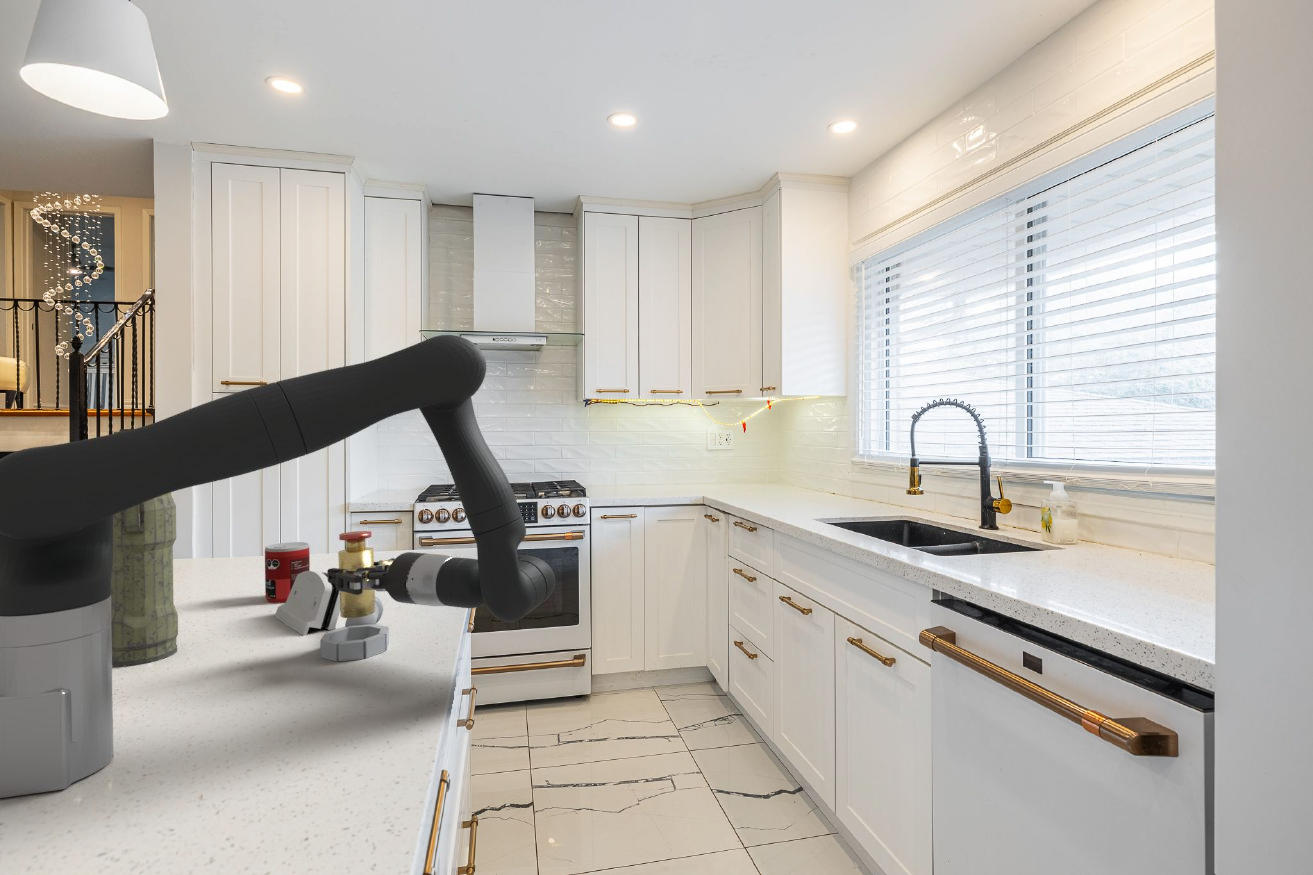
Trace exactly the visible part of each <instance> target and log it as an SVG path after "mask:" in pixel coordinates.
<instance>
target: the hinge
mask: <svg viewBox="0 0 1313 875" xmlns="http://www.w3.org/2000/svg"><path fill="white" fill-rule="evenodd" d="M336 586H337V584H334V583H329V582H328V578H327V572H323V571H322V572H321V571H318V570H310V571H305V572H302V573H300V574H298V576H297V577H296V580H295V582H294V585H293V587H292V589H291V592H290V594H289V596H288V599H287V601H286V603H282V604H281V605H278V607H277V609H276V611H275V614H274V618H276V619H278V620H279V621H281V622H282V623H284V624H285V625H286V626H288V627H289V628H291V629H293V630H294V631H296V632H297V633H299V634H300V635H301V636H303V637H304V636H307V635H308V632H309V630H310V628H314V629H320V630H321V629H322V628H324V629H327V630H328V631H332V630H335V629H336V628H337V627H336V626H337V623H338V620H339V615H340V591H339V590H337V589H336Z"/></svg>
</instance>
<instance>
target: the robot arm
mask: <svg viewBox="0 0 1313 875" xmlns="http://www.w3.org/2000/svg"><path fill="white" fill-rule="evenodd" d="M486 372H487V361H486V358H485V355H484V353H483V352H482V350H481V349H480V348H479V346H478V345H477V344H475V343H474V342H473V341H471V340H469V339H468V338H465V337H462V336H459V335H453V334H441V335H436V336H433V337H430V338H428V339H425V340H422V341H421V342H418V343H416V344H415V343H414V344H412V345H411V346H408V347H405V348H403V349H400V350H397V351H395V352H392V353H389V354H386V355H384V356H381V357H379V358H378V357H377V358H375V359H372V360H369V361H365V362H361V363H355V364H351V365H346V366H342V367H335V368H331V369H326V370H321V371H317V372H312V373H308V374H303V375H299V376H296V377H290V378H285V379H283V380H278V381H276V382H275V381H274V382H270V383H267V384H263V385H259V386H256V387H251V388H248V389H243V390H241V391H238V392H235V393H232V394H229V395H226V396H223V397H220V398H217V399H214V400H211V401H208V402H204V403H202V404H200V405H197V406H194V407H191V408H189V409H186V410H184V411H181V412H179V413H177V414H173V415H172V416H168V417H166V418H164V419H161V420H158V421H156V422H154V423H153V422H152V423H150V424H147V425H143V426H141V427H137V428H132V429H133V430H128V431H124V432H120V433H115V434H113V433H111V434H106V435H102V436H97V437H92V438H88V439H82V440H77V441H69V442H65V443H59V444H54V445H43V446H35V447H28V448H24V449H21V450H18V451H15V452H11V453H9V454H8V455H6V456H5V455H4V456H3V457H2V458H0V799H3V798H9V797H11V798H12V797H17V796H25V795H32V794H38V793H45V792H52V791H53V792H54V791H60V790H65V789H67V788H68V787H69V786H70V785H72V784H73V783H75V782H77V781H79V780H81V779H83V778H86V777H89V776H91V775H92V774H94V773H96V772H98V771H99V770H101V769H103V768H104V767H105V766H107V765H108V764H109V763H110V762H111V761H112V759H113V758H114V717H113V716H114V715H113V713H114V712H113V711H114V710H113V703H114V702H113V666H112V632H111V623H112V620H111V576H112V567H113V515H114V514H117V513H119V512H121V511H124V510H126V509H128V508H131V507H133V506H136V505H138V504H141V503H143V502H146V501H148V500H151V499H153V498H156V497H159V496H162V495H164V494H167V493H170V492H171V493H173V492H177V491H180V490H183V489H187V488H191V487H196V486H200V485H204V484H209V483H214V482H218V481H223V480H226V479H230V478H234V477H238V476H242V475H246V474H250V473H252V472H256V471H260V470H263V469H267V468H270V467H273V466H277V465H280V464H282V463H283V464H284V463H285V462H289V461H292V460H295V459H298V458H301V457H304V456H307V455H309V454H312V453H315V452H317V451H320V450H322V449H326V448H327V447H330V446H332V445H334V444H336V443H339V442H341V441H343V440H346V439H347V438H349V437H351V436H353V435H355V434H356V435H357V433H360V432H362V431H363V430H365V429H367V428H369V427H371V426H373V425H374V424H377V423H379V422H382V421H384V420H385V419H388V418H390V417H393V416H396V415H399V414H402V413H403V414H404V413H407V412H409V411H413V410H418V409H419V411H420V413H421V414H422V416H423V418H424V420H425V421H426V423H427V425H428V427H429V428H430V430H431V433H432V435H433V436H434V439H435V441H436V442H437V445H438V446H439V449H440V451H441V454H442V455H443V458H444V460H445V462H446V465H447V467H448V470H449V472H450V475H451V478H452V480H453V483H454V486H455V487H456V490H457V493H458V496H459V499H460V502H461V505H462V507H463V511H464V513H465V516H466V518H467V522H468V524H469V527H470V530H471V534H472V535H473V536H472V537H473V538H474V541H475V543H476V551H477V552H476V553H477V557H476V558H471V557H469V558H468V557H467V558H466V557H458V556H456V557H455V556H452V555H451V556H450V555H446V554H439V553H438V554H437V553H427V552H423V553H422V552H412V551H411V552H410V551H407V552H402V553H401V554H399V555H398V556H396V558H394V557H392V558H390V559H387V560H382V559H380V560H378V561H374V566H362V567H359V568H358V569H339V567H338V568H337V567H332V568H328V569H327V571H326V573H327V578H328V582H329V583H334V584H337V586H336V589H337V590H339V591H343V592H347V593H351V594H354V595H360V594H362V593H363V590H375V592H387V594H389V596H390V598H391V599H393V600H394V601H395V602H398V603H402V604H411V605H419V606H427V607H428V606H429V607H454V608H463V609H476V608H480V607H482V606H483V607H484V606H486V608H487V610H488V611H489V612H490V614H492V615H493V616H494V617H495V618H496V619H497V620H499V621H501V622H505V623H514V622H517V621H519V620H522V619H523V618H525V617H526V616H527V615H528V614H530V613H531V612H532V611H533V610H535V609H536V608H538V607H539V606H540V605H541V604H543V603H544V602H545V601H547V600H548V599H549V597H550V596H551V595H552V594H553V592H554V589H555V586H556V577H555V573H554V570H553V569H552V568H551V566H550V565H549V563H547V562H546V561H545V560H542V559H541V558H538V557H536V556H532V555H525V554H524V555H523V554H522V555H521V554H520V555H519V554H518V548H519V547H520V544H521V543H522V542H523V540H524V539H525V537H526V535H527V528H526V525H525V521H524V518H523V516H522V513H521V509H520V507H519V504H518V502H517V499H516V495H515V493H514V491H513V487H512V485H511V483H510V481H509V479H508V477H507V476H506V474H505V472H504V470H503V468H502V466H501V465H500V464H499V462H498V461H497V459H496V457H495V456H494V454H493V453H492V451H491V449H490V448H489V446H488V444H487V442H486V439H485V438H484V436H483V434H482V431H481V429H480V427H479V424H478V420H477V418H476V415H475V414H476V413H475V410H474V405H473V400H472V397H473V396H474V395H475V394H476V393H477V391H479V389H480V388H481V386H482V384H483V383H484V380H485V378H486V377H485V376H486ZM366 571H369V572H368V573H367V579H366ZM354 574H356V575H354Z"/></svg>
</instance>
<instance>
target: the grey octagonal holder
mask: <svg viewBox="0 0 1313 875" xmlns="http://www.w3.org/2000/svg"><path fill="white" fill-rule="evenodd" d="M383 612H384V605H383V602H382V601H381V600H380V598H379V597H377V596H375V613H373V614H371V615H368V616H364V617H358V618H346V620H345V626H342V627H340V628H335V629H334V630H328V631H327V632H324V634H323V635H322V637H321V638H320V639H319V640H320V646H319V647H320V650H319V651H320V658H322V659H325V660H329V661H333V662H337V661H338V662H344V661H346V662H347V661H355V660H356V661H357V660H364V659H369V658H371V657H373V656H376V655H378V654H382V653H384V652H386V651H387V650H388V648H389V644H390V630H389V629H390V627H388V626H386V625H380V624H378V622H379V621H380V620H381V618H382V616H383Z"/></svg>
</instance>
